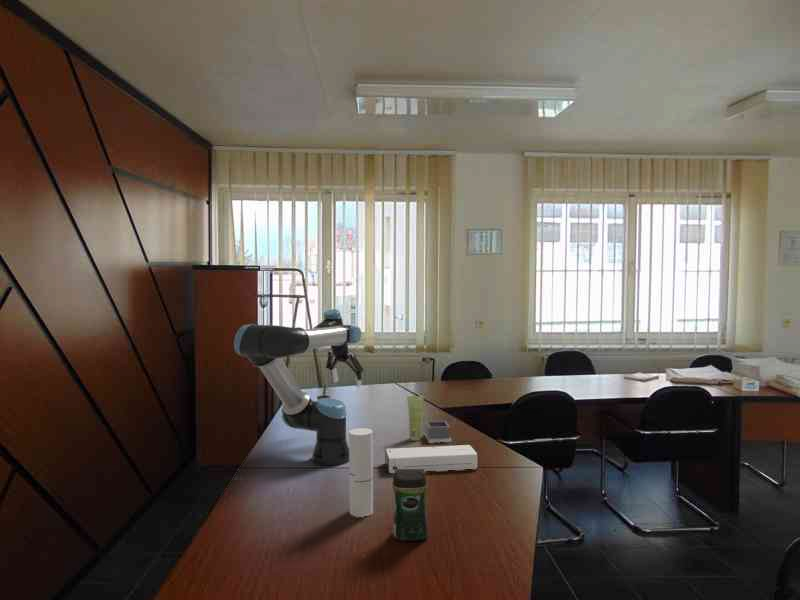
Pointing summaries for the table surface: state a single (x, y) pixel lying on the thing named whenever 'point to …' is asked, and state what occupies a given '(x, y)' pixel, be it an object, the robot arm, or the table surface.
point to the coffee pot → (323, 395)
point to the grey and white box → (437, 431)
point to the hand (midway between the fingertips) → (347, 383)
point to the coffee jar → (410, 505)
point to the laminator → (432, 458)
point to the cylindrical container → (361, 472)
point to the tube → (415, 416)
